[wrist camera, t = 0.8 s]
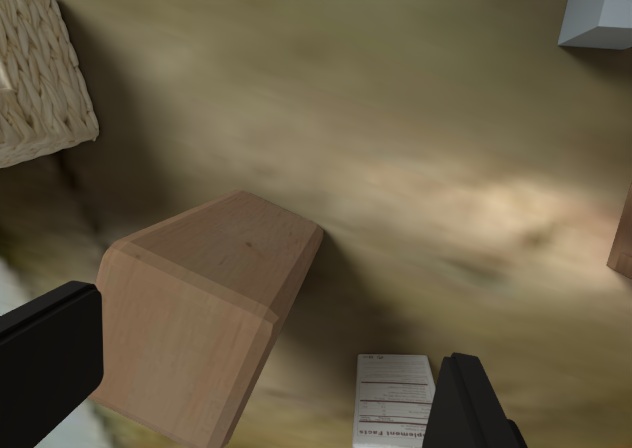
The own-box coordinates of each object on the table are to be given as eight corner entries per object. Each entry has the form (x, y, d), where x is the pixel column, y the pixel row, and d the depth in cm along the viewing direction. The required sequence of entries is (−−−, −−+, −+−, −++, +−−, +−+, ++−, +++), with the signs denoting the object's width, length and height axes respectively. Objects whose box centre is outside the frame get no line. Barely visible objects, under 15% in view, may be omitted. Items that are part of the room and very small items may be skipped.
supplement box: (428, 414, 41) (452, 533, 29) (359, 410, 42) (354, 524, 30) (429, 352, 39) (454, 452, 27) (357, 351, 40) (350, 445, 28)
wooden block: (328, 226, 38) (282, 325, 18) (290, 309, 40) (215, 470, 21) (237, 184, 38) (98, 238, 19) (206, 269, 41) (56, 392, 21)
